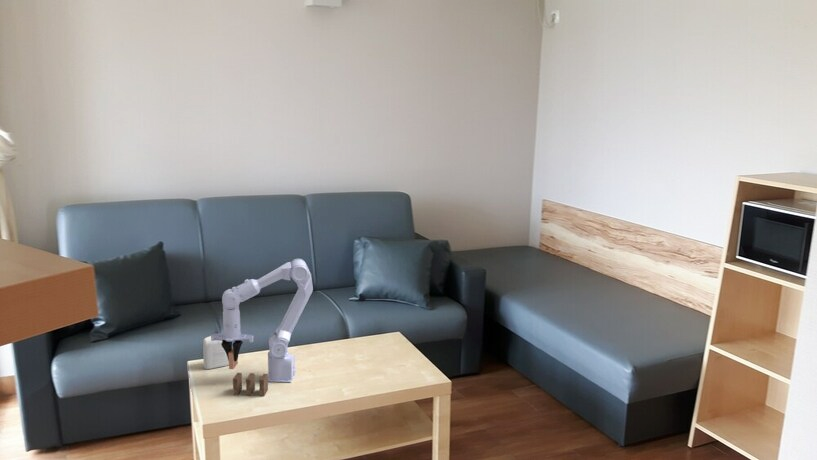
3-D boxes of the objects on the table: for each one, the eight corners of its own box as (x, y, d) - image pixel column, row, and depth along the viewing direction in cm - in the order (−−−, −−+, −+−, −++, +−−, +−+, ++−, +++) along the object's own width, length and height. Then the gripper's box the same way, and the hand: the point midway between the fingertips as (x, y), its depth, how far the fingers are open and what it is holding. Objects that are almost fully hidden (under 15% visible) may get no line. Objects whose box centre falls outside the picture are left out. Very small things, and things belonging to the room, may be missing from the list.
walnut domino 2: (255, 389, 214) (254, 373, 213) (250, 395, 209) (250, 379, 208) (250, 389, 214) (250, 373, 213) (246, 395, 210) (246, 379, 208)
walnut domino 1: (242, 388, 215) (241, 372, 213) (237, 395, 210) (237, 379, 208) (237, 388, 215) (237, 372, 213) (233, 395, 210) (232, 378, 208)
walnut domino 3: (267, 389, 214) (267, 373, 213) (264, 396, 209) (263, 380, 208) (263, 389, 214) (263, 373, 213) (259, 396, 209) (259, 379, 208)
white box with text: (229, 361, 237) (228, 330, 235) (233, 365, 234) (232, 334, 231) (202, 366, 232) (201, 335, 229) (205, 370, 228) (204, 339, 226)
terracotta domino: (237, 363, 221) (237, 347, 220) (233, 369, 217) (232, 353, 215) (233, 363, 222) (233, 347, 220) (229, 369, 217) (228, 352, 215)
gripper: (207, 326, 212) (208, 363, 215) (249, 328, 212) (250, 365, 214) (214, 319, 219) (215, 355, 222) (254, 321, 219) (255, 357, 221)
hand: (233, 360), depth 218 cm, fingers closed on terracotta domino, 1 cm apart
